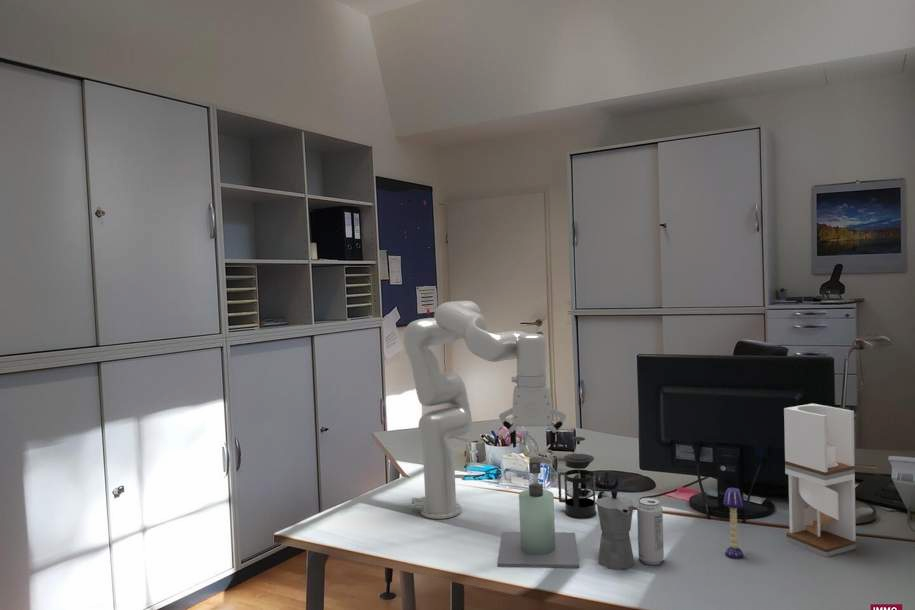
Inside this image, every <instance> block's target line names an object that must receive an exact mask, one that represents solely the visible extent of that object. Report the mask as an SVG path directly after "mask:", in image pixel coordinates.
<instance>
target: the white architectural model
mask: <svg viewBox="0 0 915 610" xmlns="http://www.w3.org/2000/svg"><path fill="white" fill-rule="evenodd" d="M783 416H784V418H783V419H784V422H783V423H784V426H783V427H784V470H785V471H784V473H785V475H788V509H789V510H788V511H789V512H788V513H789V514H788V515H789V517H788V518H789V520H788V521H789V522H788V523H789V532H786V535H785V536H786V541H787V542H789V543H791V544H793V545H796V546H798V547H800V548H804V549H805V550H808V551H810V552H812V553H815V554H818V555H819V556H822V557H824V558H828V557H832V556H835V555H838V554H842V553H845V552H849V551H852V550H855V549H857V548H856V546H857V545H856V543H857V542H856V539H857V537H856V483H855V482H856V480H855V478H856V477H855V476H856V474H855V473H856V472H855V469H856V468H855V467H856V466H855V461H856V460H855V417H854V416H855V411H854V410H850V409H846V408H845V409H844V408H840V407H835V406H834V407H833V406H830V405H824V404H823V405H822V404H817V403H808V404H803V405H796V406H789V407H784V408H783Z"/></svg>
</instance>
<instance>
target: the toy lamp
mask: <svg viewBox="0 0 915 610" xmlns="http://www.w3.org/2000/svg"><path fill="white" fill-rule="evenodd" d="M723 505H724V506H725V507H728V508H729V511H730V512H729V522H730V524H729V529H730V531H729V534H730V537H729V538H730V540H729V541H730V546H729V547H727V548H726V549H725V553H724V554H725V556H726V558H727V557H728V558H730V559H737V560H738V559H742V558H744V552H743V550H741V548H739V544H738V543H739V542H738V540H739V537H738V535H739V531H738V512H737V511H738V509H740V508H743V507H744V500H743V497H742V494H741V491H740V489H739V488H737V487H729V488H728V487H727V489H726V490H725V494H724V499H723Z"/></svg>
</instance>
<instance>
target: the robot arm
mask: <svg viewBox="0 0 915 610" xmlns="http://www.w3.org/2000/svg"><path fill="white" fill-rule="evenodd" d="M433 316H434V317H427V318H419V319H416V320H413V321H411V322H410V323H409V324H407V326H406V327H405V328H404V332H403V345H404V348H405V353H406V354H407V355H406V356H407V357H408V360H409V363H410V365H411V371H412V376H413V382H414V386H415V392H416V395H417V398H418V399H417V400H418V402H419V403H420V404H421V405H422V406H424V407H436V406H440V405H445V404H446V407H445V408H440V409H436V410H431V411H428V412H425V413H424V414H422V416H421V417H420V419H419V420H418V431H419V432H418V433H419V436H420V441H421V447H422V458H423V459H422V460H423V463H422V464H423V479H424V481H423V482H424V484H423V485H424V496H422V497H421V498H419V497H411V504H412V505H413V506H414V507H421V508H420V514H421V515H422V516H423V517H425V518H428V519H433V520H434V519H435V520H437V519H438V520H442V519H450V518H454V517H456V516H458V515H459V514H461V512H462V505H460V504H459V503H457V493H456V492H457V491H456V490H457V489H456V470H455V469H456V467H455V454H454V451H453V449H452V447H451V446H450V444H449V442H448V441H449V440H452V439H455V438H459V437H462V436H465V435H467V434H468V433H470V431H471V430H472V425H473V419H472V418H473V416H472V413H471V407H470V403H469V398H468V394H467V388H466V385H465V382H464V381H463V379H462V377H461V376H460V375H459V374H458V373H456V372H453V371H451V372H441V369H440V364H439V359H438V358H437V356H436V354H435V353H434V352H433V350H431V349H430V348H429V347H430V346H438V345H439V346H440V345H446V344H453V343H455V342H457V341H459V340H460V339H462V340H463V341H464V342H465V346H466V347H467V349H468V350H469V352H470V353H471V354H473V355H474V356H476V357H479V358H481V359H483V360H484V361H486V362H492V363H497V362H504V361H509V360H510V361H511V360H516V376H511V383H515V384H516V385H515V386H514V388H513V394H512V395H513V396H512V407H511V408H509V409H507V410H504V411H503V412H501V413H499V415H498V417H499V420H500V421H501V424H502V425H503V427H504V428H506V429H507V430H508V432H509V433H510V434H509V442H510V444H512V448H514V449H515V448H516V447H517V430H516V429H517V427H548V429H549V444H550V446H549V447H550V448H551V449H554V445H556V444H557V443H556V440H557V439H556V435H557V434H556V433H557V431H558V430H559V429H560V428H561V427H562V426H563V425H564V423H565V421H566V418H567V414H566V413H563V411H560V410H558V409H556V408H554V407H552V405H553V403H552V393H551V389H550V386H549V385H547V353H546V350H547V349H546V348H547V347H546V343H547V342H546V337H545V336H544V335H543V334H540V333H534V332H532V333H528V332H525V331H521V330H510V331H502V332H501V331H500V332H495V333H494V332H493V333H492V332H488V331H487V327H488V326H487V325H488V324H487V320H486V318H485V317H484V316H483V315H482V311H481V308H480V307H479V306H478V305H477V303H475V302H474V301H472V300H456V301H446V302H443V303H441V304H440V305H438V307H437V308H436V309H435V311H434V314H433ZM511 415H512V423H510V422H509V421H508V420H507V418H508V417H509V416H511ZM553 415H554V416H556V417H558V420H557V422H556V423H553Z"/></svg>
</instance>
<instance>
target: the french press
mask: <svg viewBox="0 0 915 610" xmlns="http://www.w3.org/2000/svg"><path fill="white" fill-rule="evenodd" d="M570 440H571V441H574V442H575V441H576V444H577V453H569V454H566V455H565V456H563V460H564V461H565V463H564V465H565V467H567V468H571V469H570V470H566V471H560V472H558V474H557V480H558V482H557V483H558V502H559V503H563V504H564V505H565V510H564V514H565V516H567V517H568V518H571V519H577V520H578V519H579V520H585V519H592V518H594V517H596V516H597V513H598V511H597V510H596V506H597V503H596V483H595V482H596V481H595V479H596V477H595V472H593V471H592V470H587V468H588V467H589V465H590V464H591V463H592V462H593V461H594V460H595V457H594V456H593V455H591V454H586V453H580V444H581V442H583V441H586V438H585V437H583V436H573V437H570ZM570 475H578V478H577V477H570ZM562 476H564V477H563V479H564V499H562V479H561V477H562ZM587 476H589V477H587ZM568 482H569V483H572V488H568ZM590 482H592V489H590V488H587V483H590ZM568 497H569V498H568Z"/></svg>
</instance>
